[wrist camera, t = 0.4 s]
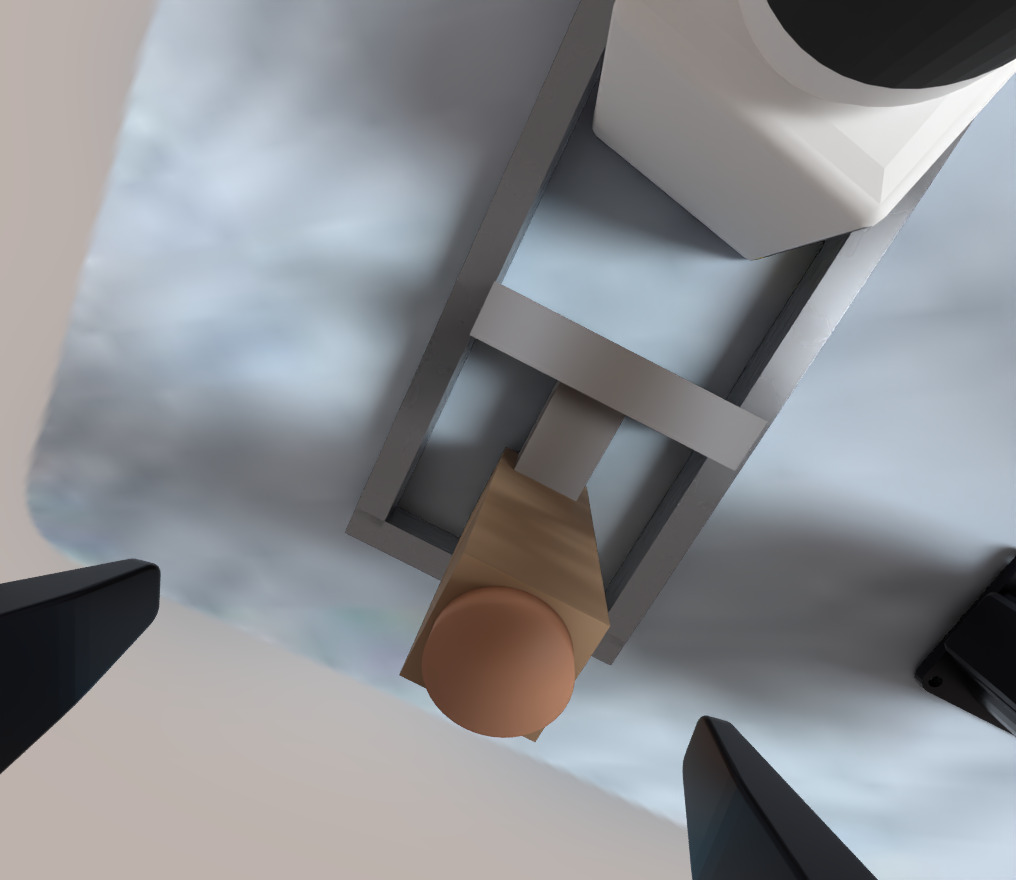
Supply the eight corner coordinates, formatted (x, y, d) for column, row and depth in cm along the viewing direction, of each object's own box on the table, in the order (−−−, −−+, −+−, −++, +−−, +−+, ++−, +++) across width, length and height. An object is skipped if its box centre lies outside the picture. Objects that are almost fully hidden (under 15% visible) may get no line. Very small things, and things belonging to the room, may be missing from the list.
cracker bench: (1038, -21, 15) (1452, -313, 8) (607, 641, 21) (630, 794, 14) (687, -213, 14) (802, -686, 8) (359, 517, 21) (264, 613, 14)
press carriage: (717, 396, 18) (889, 482, 9) (598, 586, 20) (633, 817, 11) (509, 289, 18) (456, 259, 9) (413, 493, 20) (287, 647, 11)
